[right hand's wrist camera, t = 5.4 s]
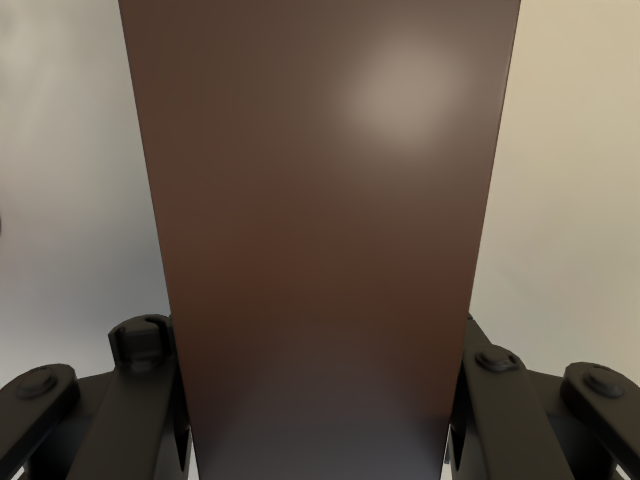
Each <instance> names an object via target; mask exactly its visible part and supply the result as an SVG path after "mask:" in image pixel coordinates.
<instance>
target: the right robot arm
mask: <svg viewBox="0 0 640 480" xmlns="http://www.w3.org/2000/svg"><path fill="white" fill-rule="evenodd" d="M108 338H109V342H110V346H111V350H112V354H113V358H114V362H115V368H114V370H113V371H111V372H107V373H104V374H99V375H94V376H90V377H85V378H80V379H77V377H76V374H75V370H74V369H73V368H72V367H71V366H70V365H66V364H60V363H59V364H50V365H44V366H40V367H37V368H34V369H31V370H30V371H28V372H26V373H23V374H21V375H19V376H18V377H16V378H15V379H13V380H12V381H11V382H9V383H8V384H6V385H5V386H4V387H3V388H2V389H1V390H0V480H11V479H12V478H13V476H14V475H15V474H16V473H17V472H18V470H19V469H20V468H21V467H22V466H23V468H24V472H23V474H22V475H21V476H20V477H19V478H18V479H17V480H188V472H189V463H190V454H191V445H192V437H191V430H190V422H189V416H188V410H187V404H186V398H185V392H184V386H183V380H182V374H181V369H180V363H179V357H178V351H177V345H176V339H175V333H174V327H173V321H172V315H171V314H170V316H169V317H167V316H163V315H159V314H151V315H143V316H138V317H134V318H131V319H129V320H126V321H124V322H122V323H120V324H119V325H117V326H116V327H114V328H113V329H112V330H111V332H110V333H109V334H108ZM449 461H450V463H451V472H452V480H624V479H623V478H622V477H621V475H620V474H619V473H618V472H617V470H616V467H617V465H619V466H620V467H621V468H622V469H623V470H624V472H625V473H626V474H627V475H628V476H629V478H630V479H631V480H640V388H639V387H638V386H637V385H636V384H635V383H634V382H632V381H631V380H629V379H628V378H627V377H625V376H624V375H622V374H620V373H618V372H616V371H614V370H612V369H610V368H608V367H605V366H601V365H599V364H594V363H587V362H577V363H571V364H570V365H569V366H567V367H566V369H565V373H564V376H563V377H558V376H553V375H548V374H544V373H539V372H535V371H531V370H527V369H526V367H525V365H524V364H523V362H522V361H521V360H520V358H519V357H517V356H516V355H515V354H513V353H512V352H511V351H509V350H507V349H504V348H502V347H500V346H497V345H493V344H491V342H490V341H489V339H488V338H487V337H486V335H485V334H484V333H483V331H482V330H481V328H480V327H479V326H478V324H477V323H476V321H475V320H473V317H472V316H471V315H470V313H469V312H468V318H467V324H466V330H465V336H464V342H463V348H462V354H461V359H460V365H459V371H458V377H457V383H456V389H455V395H454V401H453V407H452V413H451V419H450V430H449V436H448V442H447V448H446V454H445V461H444V463H445V464H449Z"/></svg>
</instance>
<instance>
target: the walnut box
mask: <svg viewBox="0 0 640 480" xmlns="http://www.w3.org/2000/svg"><path fill="white" fill-rule="evenodd" d="M118 2H119V8H120V14H121V20H122V26H123V32H124V38H125V44H126V50H127V55H128V61H129V67H130V73H131V79H132V85H133V91H134V97H135V103H136V109H137V115H138V120H139V126H140V132H141V138H142V144H143V150H144V156H145V162H146V168H147V174H148V180H149V185H150V191H151V197H152V203H153V209H154V215H155V221H156V227H157V233H158V239H159V244H160V250H161V256H162V262H163V268H164V274H165V280H166V286H167V292H168V298H169V304H170V309H171V315H172V321H173V327H174V333H175V339H176V345H177V351H178V357H179V363H180V369H181V374H182V380H183V386H184V392H185V398H186V404H187V410H188V416H189V422H190V428H191V434H192V439H193V445H194V451H195V457H196V463H197V469H198V475H199V480H440V478H441V472H442V466H443V460H444V454H445V449H446V443H447V437H448V431H449V425H450V419H451V413H452V407H453V401H454V395H455V389H456V383H457V377H458V371H459V365H460V359H461V354H462V348H463V342H464V336H465V330H466V324H467V318H468V312H469V306H470V300H471V294H472V288H473V282H474V276H475V270H476V264H477V258H478V253H479V247H480V241H481V235H482V229H483V223H484V217H485V211H486V205H487V199H488V193H489V187H490V181H491V175H492V169H493V163H494V158H495V152H496V146H497V140H498V134H499V128H500V122H501V116H502V110H503V104H504V98H505V92H506V86H507V80H508V74H509V68H510V63H511V57H512V51H513V45H514V39H515V33H516V27H517V21H518V15H519V9H520V3H521V0H118Z"/></svg>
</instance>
